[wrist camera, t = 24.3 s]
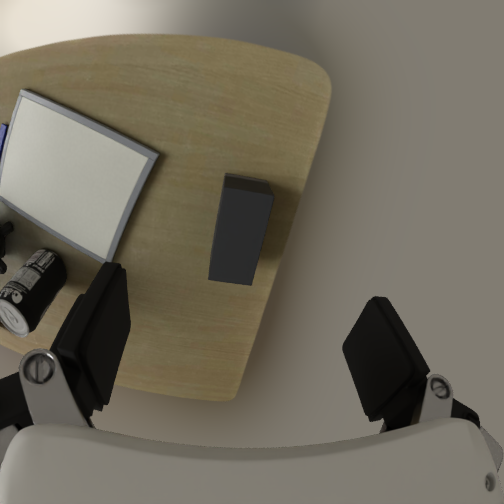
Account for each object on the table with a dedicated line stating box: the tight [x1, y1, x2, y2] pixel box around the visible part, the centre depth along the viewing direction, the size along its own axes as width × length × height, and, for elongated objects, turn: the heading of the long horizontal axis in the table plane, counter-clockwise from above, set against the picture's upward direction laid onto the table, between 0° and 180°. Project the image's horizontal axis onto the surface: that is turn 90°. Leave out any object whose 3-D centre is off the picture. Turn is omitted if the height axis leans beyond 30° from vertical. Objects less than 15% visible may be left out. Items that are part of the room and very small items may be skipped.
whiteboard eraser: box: [208, 173, 275, 286], centre depth 29 cm, size 10×5×6 cm, turn 168°
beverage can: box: [0, 249, 67, 337], centre depth 27 cm, size 7×7×12 cm
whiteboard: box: [0, 89, 160, 264], centre depth 26 cm, size 16×22×1 cm
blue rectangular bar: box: [0, 124, 7, 154], centre depth 22 cm, size 5×1×1 cm, turn 147°
